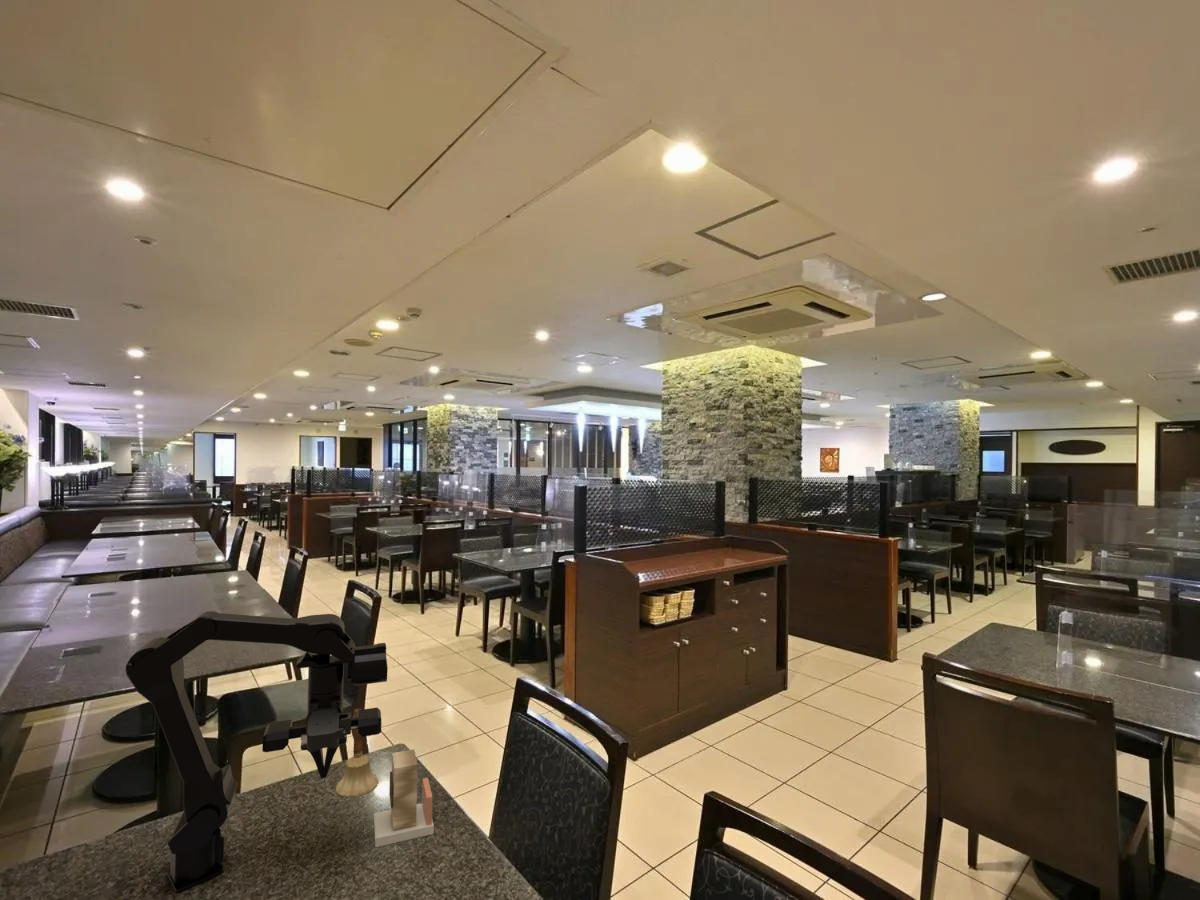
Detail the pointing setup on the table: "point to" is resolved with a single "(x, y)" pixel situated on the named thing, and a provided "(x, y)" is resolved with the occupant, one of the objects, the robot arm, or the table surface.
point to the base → (422, 827)
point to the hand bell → (357, 771)
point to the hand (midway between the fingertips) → (323, 777)
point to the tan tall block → (403, 789)
